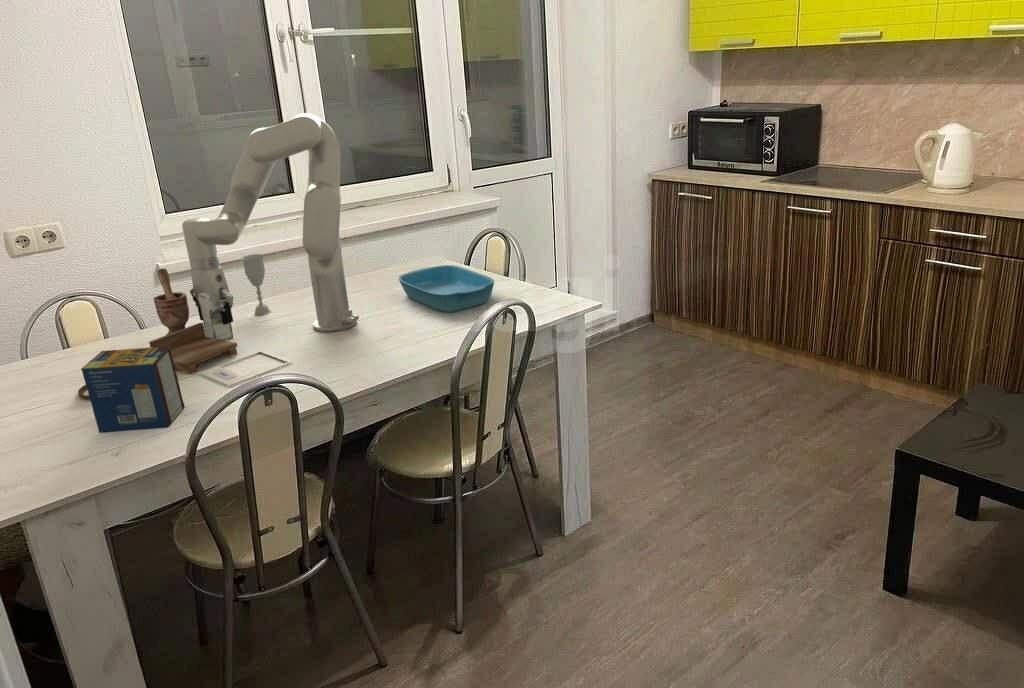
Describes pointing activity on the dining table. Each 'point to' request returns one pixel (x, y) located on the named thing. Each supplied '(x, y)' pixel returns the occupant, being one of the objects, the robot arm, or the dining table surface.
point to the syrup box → (213, 319)
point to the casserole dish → (447, 287)
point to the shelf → (193, 347)
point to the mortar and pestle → (171, 305)
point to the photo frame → (233, 378)
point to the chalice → (256, 277)
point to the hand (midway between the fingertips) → (216, 321)
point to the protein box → (133, 389)
